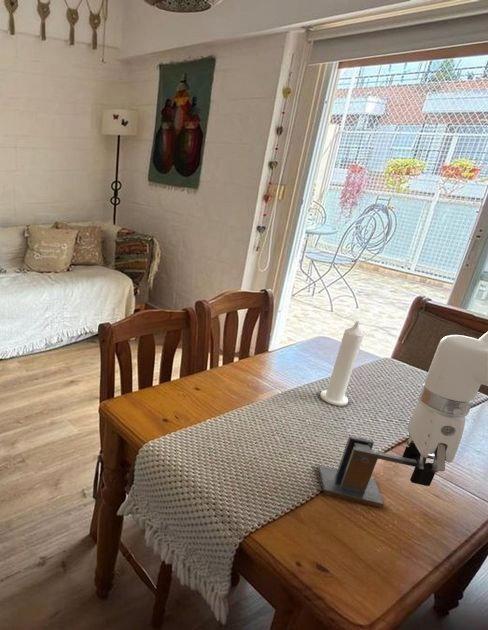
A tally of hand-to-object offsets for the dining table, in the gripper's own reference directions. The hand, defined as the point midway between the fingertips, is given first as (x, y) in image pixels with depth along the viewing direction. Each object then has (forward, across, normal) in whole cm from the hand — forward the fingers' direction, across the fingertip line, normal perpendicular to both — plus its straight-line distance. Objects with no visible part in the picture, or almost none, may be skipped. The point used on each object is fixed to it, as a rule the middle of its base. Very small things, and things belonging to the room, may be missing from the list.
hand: (414, 472), depth 90 cm
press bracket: (+8, 0, +10) cm, 13 cm away
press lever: (-1, 0, +6) cm, 6 cm away
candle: (+8, +38, +7) cm, 39 cm away
